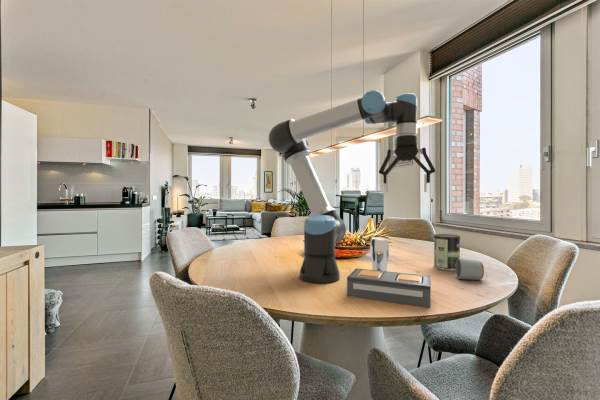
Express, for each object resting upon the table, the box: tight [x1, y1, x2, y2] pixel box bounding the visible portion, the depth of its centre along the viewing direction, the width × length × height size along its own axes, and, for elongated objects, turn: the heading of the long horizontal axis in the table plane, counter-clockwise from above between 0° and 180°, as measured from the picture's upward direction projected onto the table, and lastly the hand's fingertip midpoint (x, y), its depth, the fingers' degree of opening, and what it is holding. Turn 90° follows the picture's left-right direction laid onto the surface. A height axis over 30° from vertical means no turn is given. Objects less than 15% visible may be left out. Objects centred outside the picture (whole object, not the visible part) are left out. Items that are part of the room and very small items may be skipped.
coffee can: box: [433, 233, 461, 272], centre depth 132 cm, size 10×10×14 cm
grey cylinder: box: [455, 257, 485, 281], centre depth 116 cm, size 11×8×8 cm
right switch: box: [396, 274, 422, 283], centre depth 94 cm, size 7×7×4 cm
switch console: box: [346, 268, 432, 308], centre depth 96 cm, size 24×12×6 cm, turn 66°
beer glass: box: [369, 237, 390, 272], centre depth 116 cm, size 7×7×15 cm
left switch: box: [357, 269, 383, 279], centre depth 99 cm, size 7×7×4 cm
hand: (406, 192), depth 116 cm, fingers open, 13 cm apart
